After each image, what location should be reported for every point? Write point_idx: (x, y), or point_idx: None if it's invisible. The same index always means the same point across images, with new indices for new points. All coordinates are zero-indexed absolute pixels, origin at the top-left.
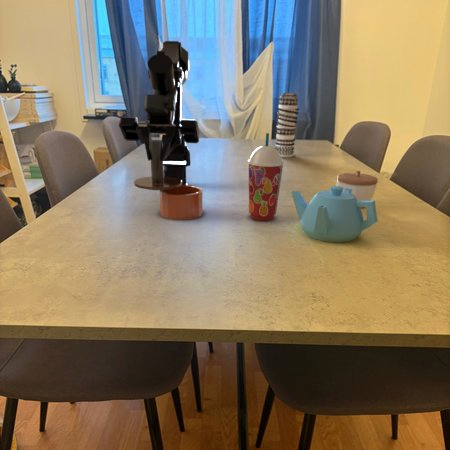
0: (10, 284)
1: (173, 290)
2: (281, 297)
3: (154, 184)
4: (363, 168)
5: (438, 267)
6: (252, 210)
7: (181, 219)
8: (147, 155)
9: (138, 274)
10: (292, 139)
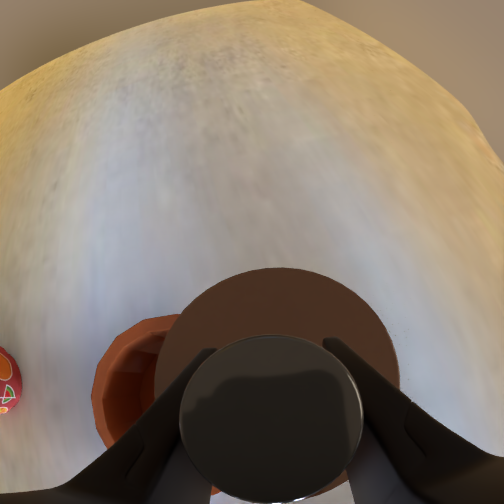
0: (347, 25)
1: (159, 48)
2: (57, 81)
3: (273, 321)
4: None
5: None
6: (3, 355)
7: None
8: (344, 346)
9: (209, 57)
10: None
